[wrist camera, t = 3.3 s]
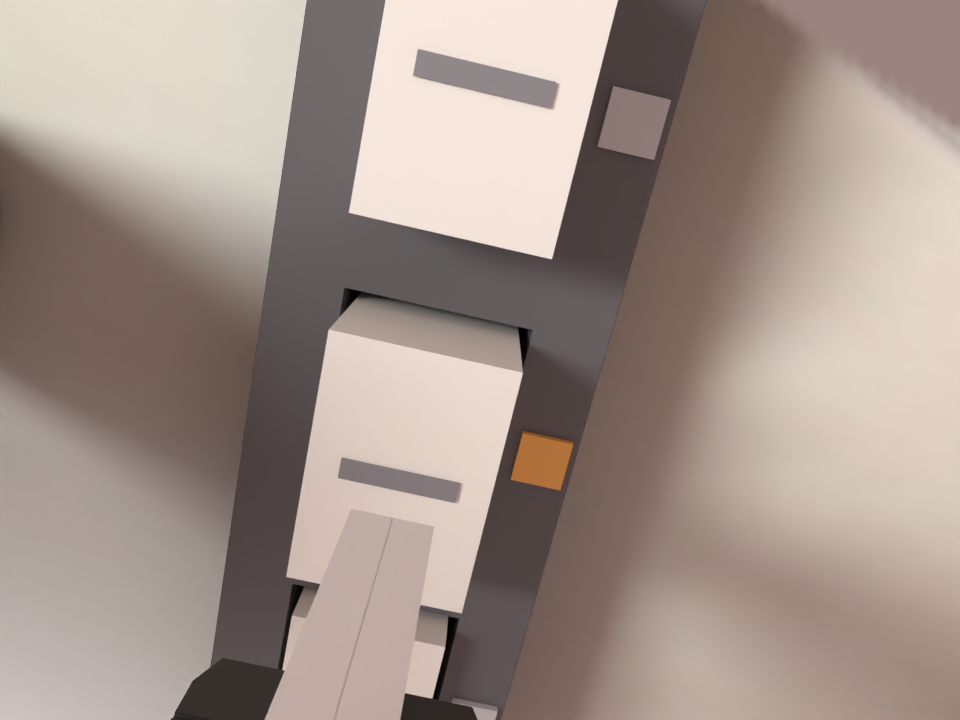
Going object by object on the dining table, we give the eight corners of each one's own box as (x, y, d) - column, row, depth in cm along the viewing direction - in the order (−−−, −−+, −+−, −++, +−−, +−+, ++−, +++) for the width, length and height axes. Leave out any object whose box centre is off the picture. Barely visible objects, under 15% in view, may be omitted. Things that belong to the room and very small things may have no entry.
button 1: (302, 677, 27) (259, 793, 23) (330, 526, 26) (291, 617, 21) (418, 701, 28) (401, 821, 23) (454, 552, 26) (444, 649, 21)
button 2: (330, 485, 23) (285, 578, 18) (366, 286, 21) (328, 330, 16) (469, 515, 23) (461, 615, 18) (517, 320, 21) (523, 373, 16)
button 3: (383, 195, 20) (348, 212, 16) (430, -59, 19) (407, -130, 14) (539, 231, 21) (552, 259, 16) (600, -17, 19) (636, -72, 14)
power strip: (239, 706, 29) (186, 823, 24) (418, -404, 19) (390, -598, 14) (463, 751, 29) (457, 875, 24) (754, -315, 19) (843, -471, 14)
